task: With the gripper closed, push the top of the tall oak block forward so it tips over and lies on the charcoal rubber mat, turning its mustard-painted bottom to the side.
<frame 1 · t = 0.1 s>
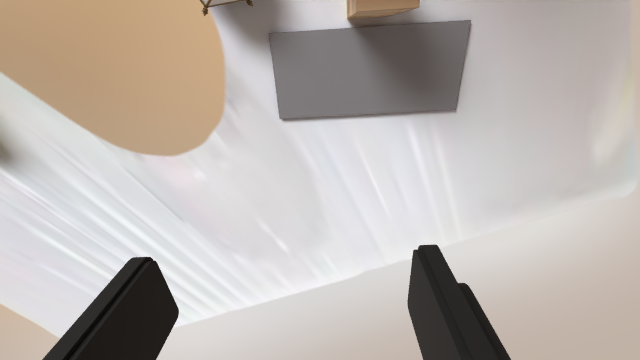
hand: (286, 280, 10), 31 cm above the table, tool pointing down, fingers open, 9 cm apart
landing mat: (366, 72, 36), on the table
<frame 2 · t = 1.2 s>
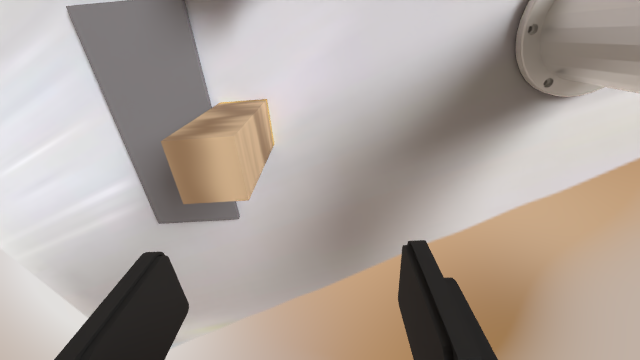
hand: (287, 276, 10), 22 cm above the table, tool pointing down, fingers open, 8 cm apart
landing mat: (170, 129, 31), on the table
oak block: (248, 124, 30), on the table
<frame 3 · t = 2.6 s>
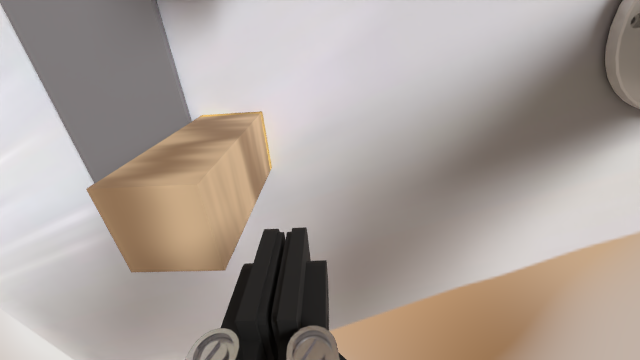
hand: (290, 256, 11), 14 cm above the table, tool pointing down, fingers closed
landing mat: (140, 147, 24), on the table
oak block: (238, 142, 24), on the table
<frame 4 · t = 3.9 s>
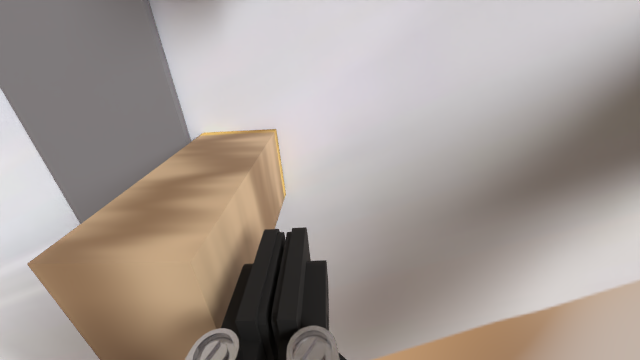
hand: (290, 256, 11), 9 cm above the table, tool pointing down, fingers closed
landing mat: (128, 170, 20), on the table
oak block: (246, 164, 20), on the table, touching gripper
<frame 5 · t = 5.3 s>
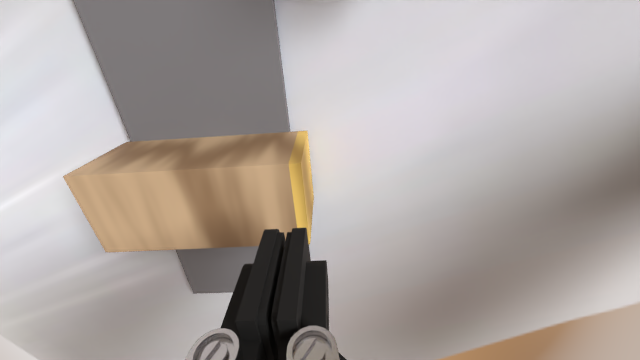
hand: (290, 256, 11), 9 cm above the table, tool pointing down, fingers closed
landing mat: (221, 167, 20), on the table
oak block: (308, 183, 17), point 3 cm above the table, tilted 90°, touching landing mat
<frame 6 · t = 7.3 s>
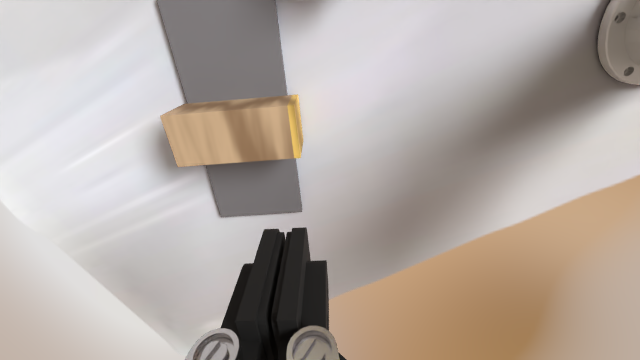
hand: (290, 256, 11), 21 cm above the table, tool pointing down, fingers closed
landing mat: (243, 121, 30), on the table
oak block: (299, 125, 27), point 3 cm above the table, tilted 90°, touching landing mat
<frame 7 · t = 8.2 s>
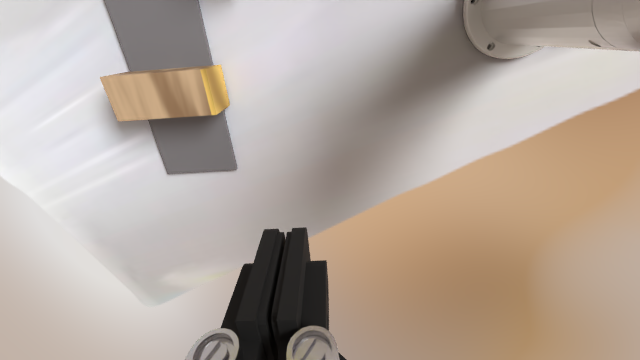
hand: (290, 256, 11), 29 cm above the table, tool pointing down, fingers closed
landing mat: (179, 88, 36), on the table
oak block: (218, 88, 33), point 3 cm above the table, tilted 90°, touching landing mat
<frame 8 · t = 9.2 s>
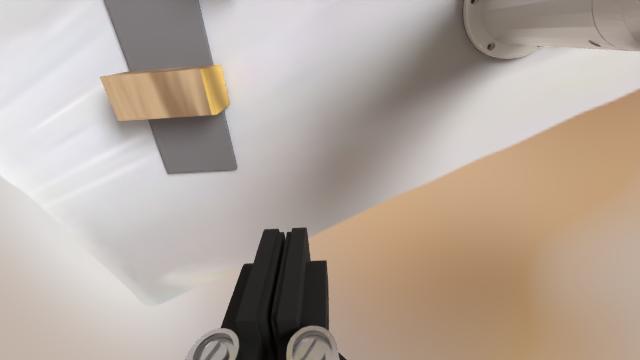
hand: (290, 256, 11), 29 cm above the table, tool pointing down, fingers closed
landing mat: (179, 88, 36), on the table
oak block: (218, 88, 33), point 3 cm above the table, tilted 90°, touching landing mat
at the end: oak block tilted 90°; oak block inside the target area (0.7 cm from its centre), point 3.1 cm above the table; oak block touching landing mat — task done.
